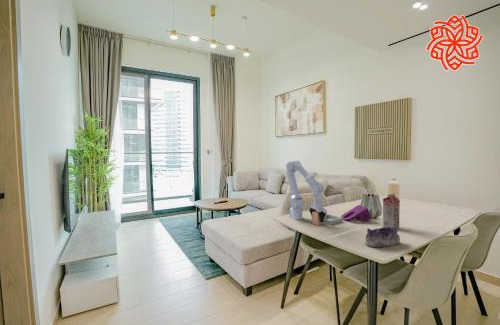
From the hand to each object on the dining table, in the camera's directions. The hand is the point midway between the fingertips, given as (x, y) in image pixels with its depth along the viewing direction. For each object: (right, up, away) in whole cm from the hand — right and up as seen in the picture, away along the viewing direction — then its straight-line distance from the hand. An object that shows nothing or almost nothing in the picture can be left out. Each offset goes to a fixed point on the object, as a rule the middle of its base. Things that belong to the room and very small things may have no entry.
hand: (317, 220), depth 163 cm
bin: (+10, -2, +6) cm, 11 cm away
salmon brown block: (0, -2, 0) cm, 2 cm away
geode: (+26, -5, -33) cm, 42 cm away
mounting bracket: (+29, -2, +9) cm, 30 cm away
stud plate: (0, -3, 0) cm, 3 cm away
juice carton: (+46, -3, -8) cm, 47 cm away
